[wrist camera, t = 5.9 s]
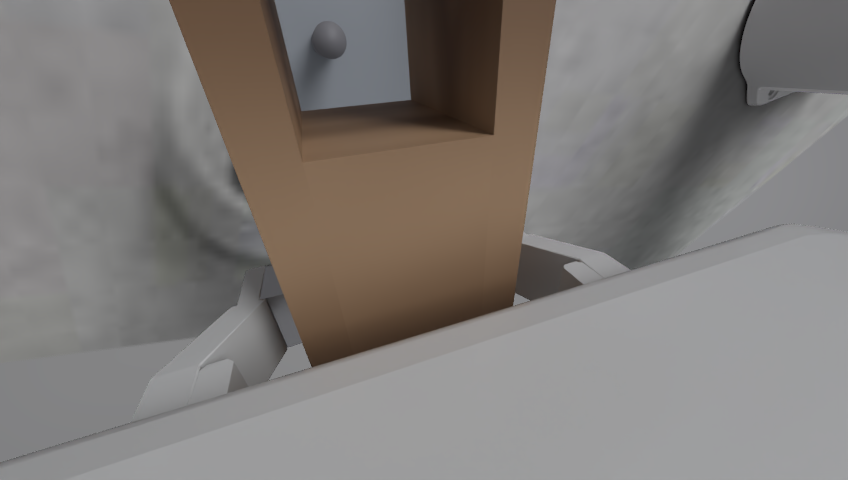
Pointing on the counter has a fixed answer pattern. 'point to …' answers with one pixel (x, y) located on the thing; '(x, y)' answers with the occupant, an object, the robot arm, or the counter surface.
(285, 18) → the post board
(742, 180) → the counter surface
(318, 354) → the walnut strip
